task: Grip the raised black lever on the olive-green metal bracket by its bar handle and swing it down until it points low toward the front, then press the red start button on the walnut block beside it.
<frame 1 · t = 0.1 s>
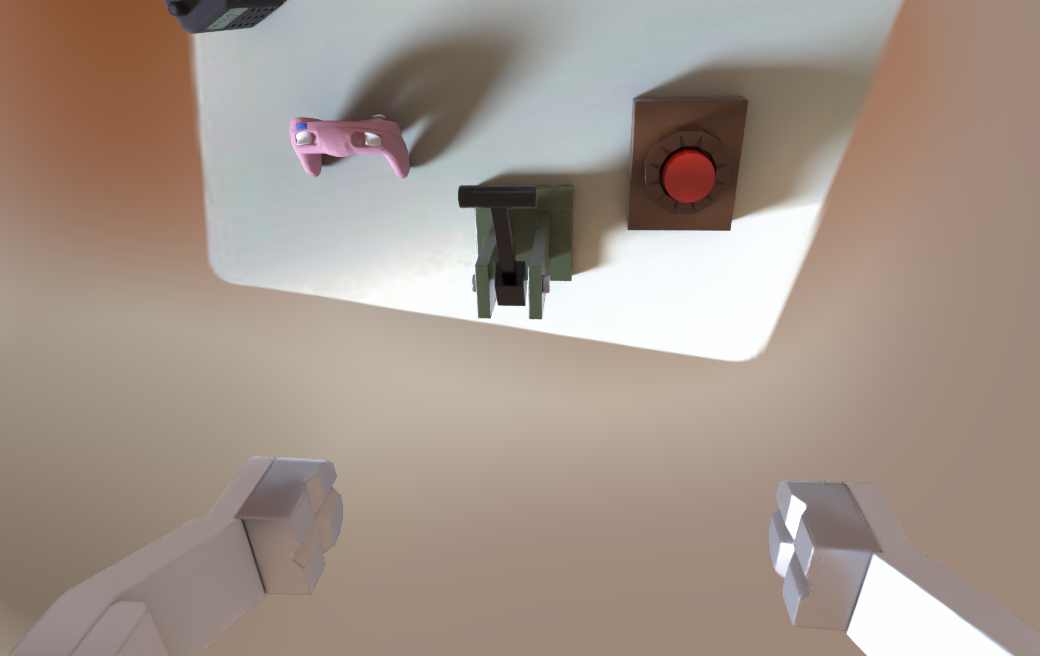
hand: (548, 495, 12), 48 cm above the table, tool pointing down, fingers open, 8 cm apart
bracket: (524, 232, 60), on the table
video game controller: (359, 141, 57), on the table
button: (688, 175, 51), point 4 cm above the table, slide at 0.1 cm
button block: (681, 162, 55), on the table
lever: (505, 247, 45), point 14 cm above the table, hinge at 32.0°
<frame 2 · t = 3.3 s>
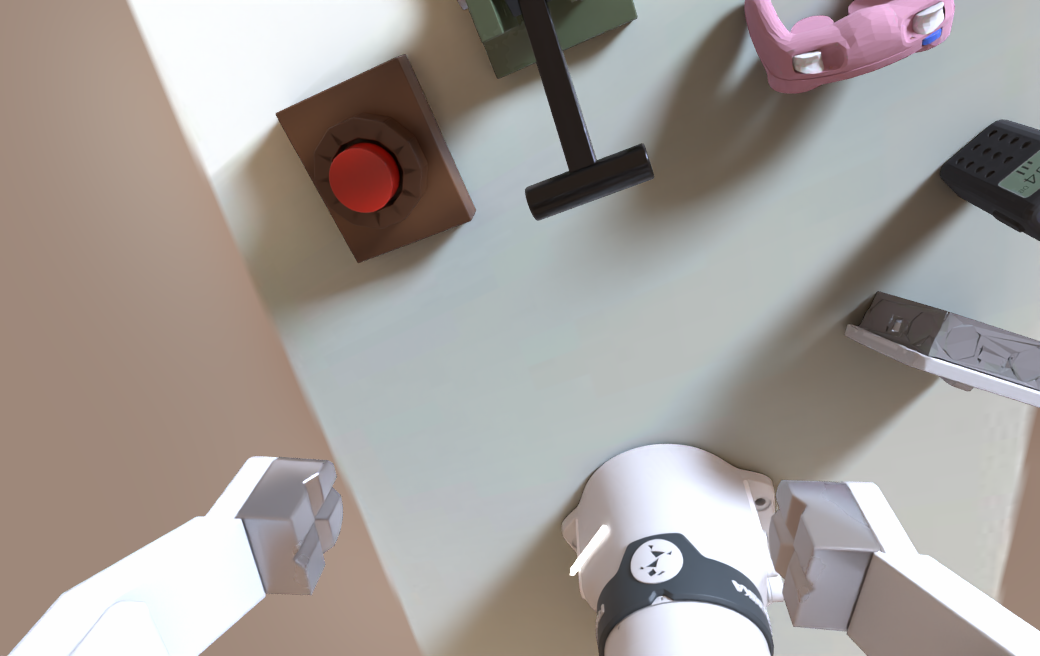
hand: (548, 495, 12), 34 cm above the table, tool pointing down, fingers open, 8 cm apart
electrical switch: (913, 316, 45), on the table
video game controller: (830, 12, 37), on the table
walkie-talkie: (979, 161, 40), on the table
button: (364, 177, 39), point 4 cm above the table, slide at 0.1 cm
button block: (385, 160, 43), on the table
lever: (551, 62, 26), point 14 cm above the table, hinge at 32.0°
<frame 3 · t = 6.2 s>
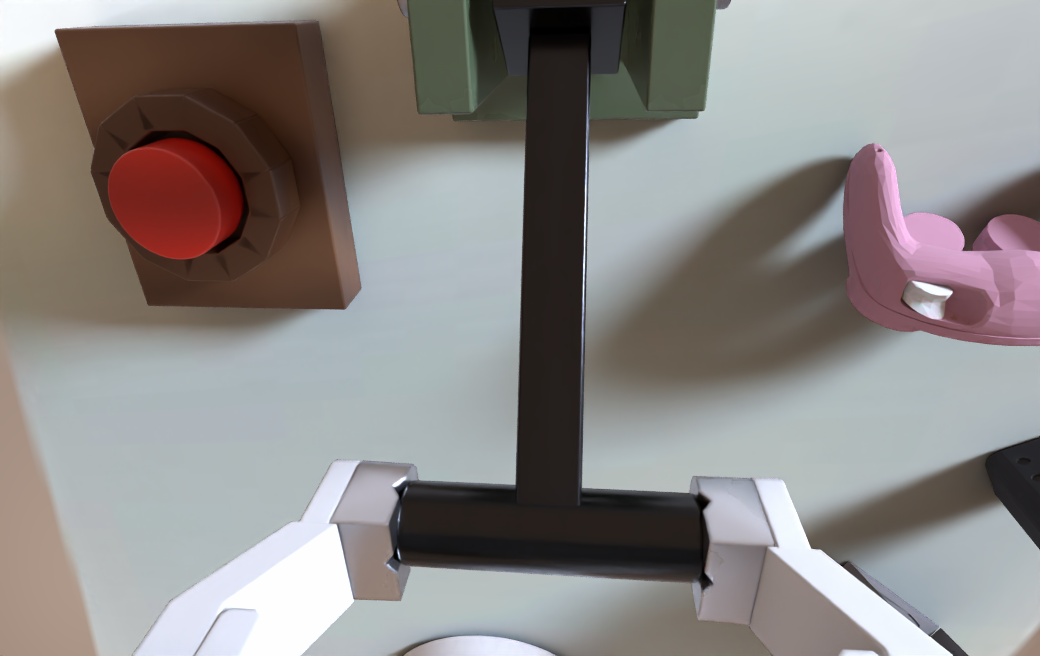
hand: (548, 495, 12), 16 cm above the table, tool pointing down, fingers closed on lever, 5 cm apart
electrical switch: (874, 598, 35), on the table
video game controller: (955, 215, 25), on the table
walkie-talkie: (1036, 461, 30), on the table
button: (178, 199, 22), point 4 cm above the table, slide at 0.1 cm
button block: (239, 168, 26), on the table
lever: (556, 223, 11), point 14 cm above the table, hinge at 32.0°, touching gripper
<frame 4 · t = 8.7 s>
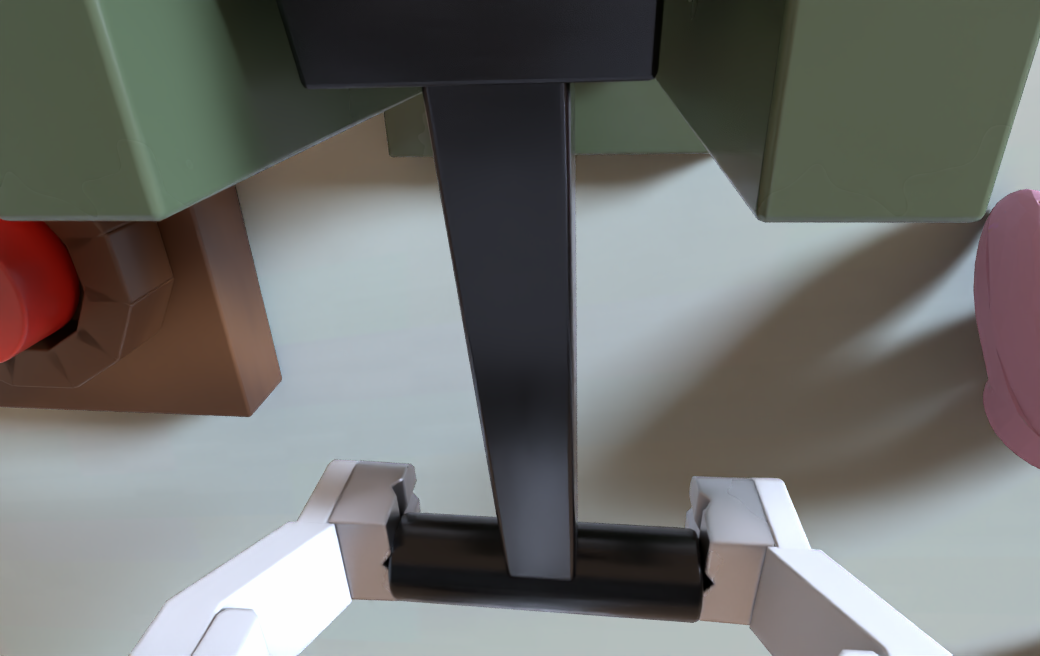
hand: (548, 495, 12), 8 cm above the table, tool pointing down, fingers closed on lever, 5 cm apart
button block: (104, 220, 19), on the table
lever: (524, 337, 7), point 11 cm above the table, hinge at -16.3°, touching gripper
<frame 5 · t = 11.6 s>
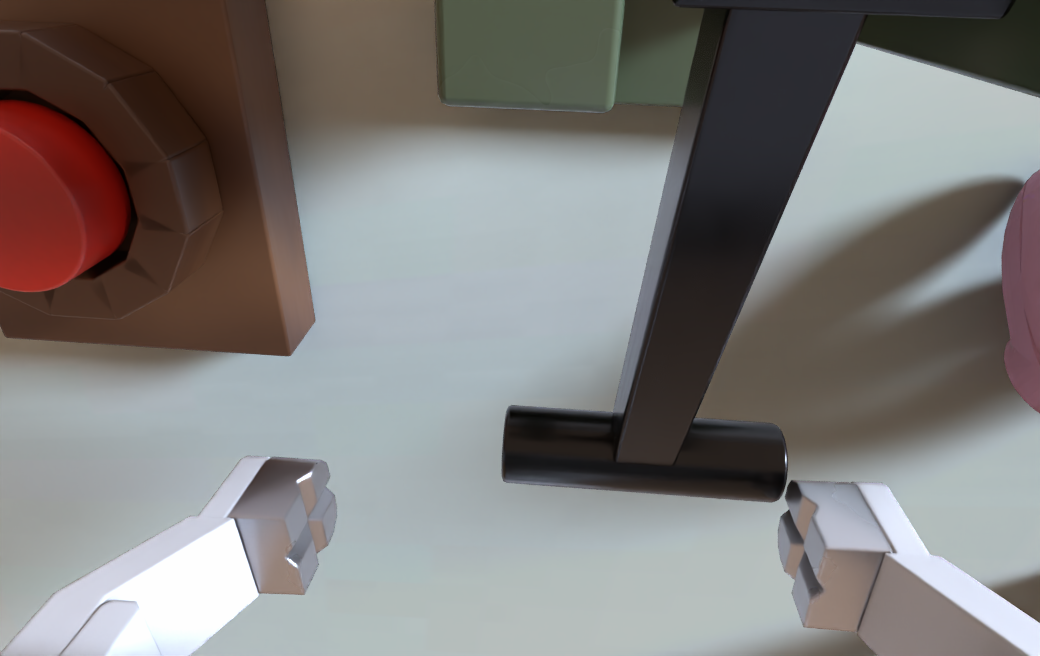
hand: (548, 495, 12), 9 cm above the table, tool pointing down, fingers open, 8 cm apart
button: (21, 198, 14), point 4 cm above the table, slide at 0.1 cm
button block: (138, 147, 18), on the table
lever: (704, 244, 7), point 10 cm above the table, hinge at -20.9°, touching gripper
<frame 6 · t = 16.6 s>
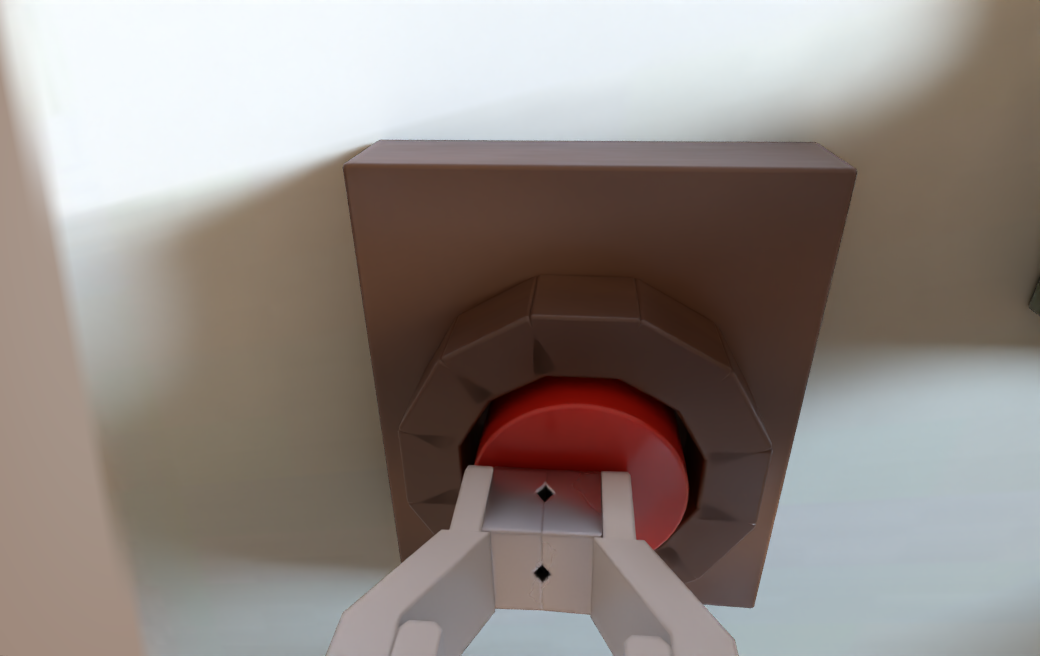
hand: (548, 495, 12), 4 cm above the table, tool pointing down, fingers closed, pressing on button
button: (579, 463, 12), point 4 cm above the table, slide at -0.8 cm, touching gripper
button block: (582, 368, 15), on the table
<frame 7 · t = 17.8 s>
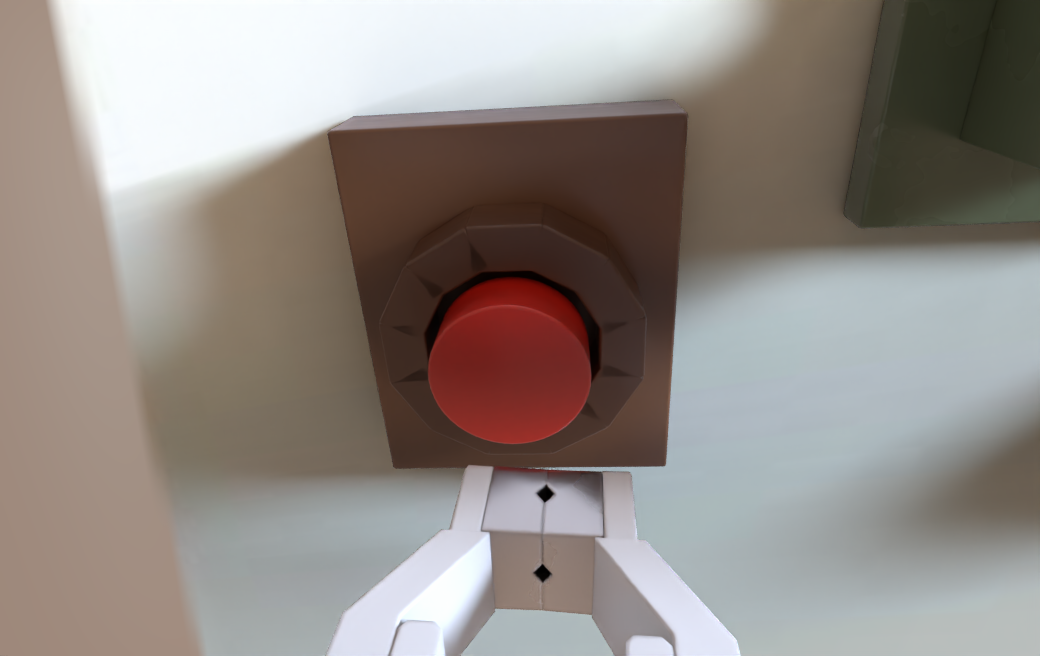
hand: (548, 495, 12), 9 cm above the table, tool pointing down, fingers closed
button: (511, 361, 16), point 4 cm above the table, slide at 0.1 cm
button block: (521, 288, 20), on the table
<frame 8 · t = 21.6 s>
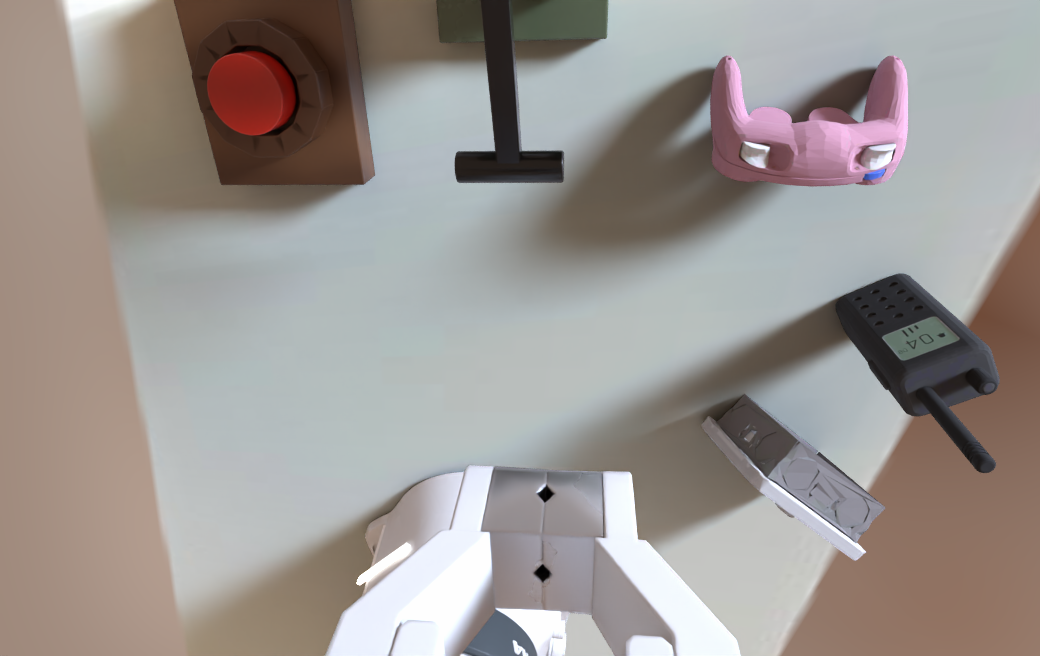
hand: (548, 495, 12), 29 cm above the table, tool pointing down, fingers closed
electrical switch: (767, 428, 45), on the table
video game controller: (792, 110, 35), on the table
walkie-talkie: (873, 305, 40), on the table
button: (252, 93, 33), point 4 cm above the table, slide at 0.1 cm
button block: (288, 82, 37), on the table
lever: (500, 53, 25), point 10 cm above the table, hinge at -19.7°
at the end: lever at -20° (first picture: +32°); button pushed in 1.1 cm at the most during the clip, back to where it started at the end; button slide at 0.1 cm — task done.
